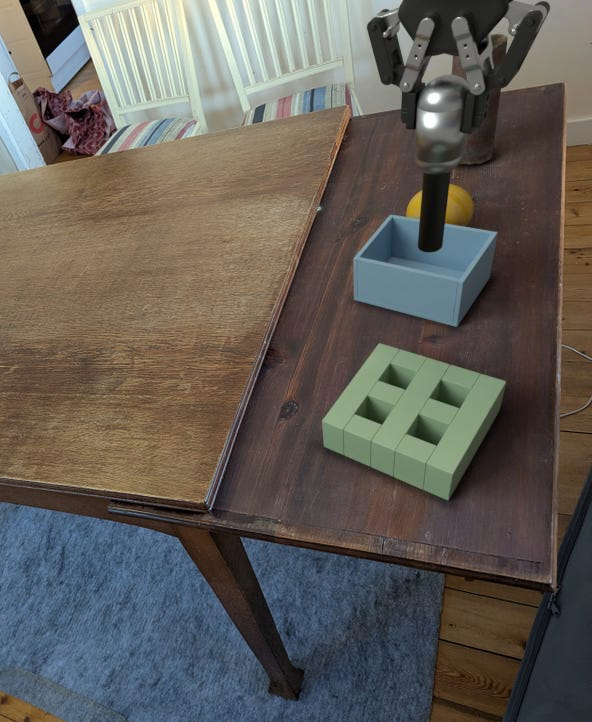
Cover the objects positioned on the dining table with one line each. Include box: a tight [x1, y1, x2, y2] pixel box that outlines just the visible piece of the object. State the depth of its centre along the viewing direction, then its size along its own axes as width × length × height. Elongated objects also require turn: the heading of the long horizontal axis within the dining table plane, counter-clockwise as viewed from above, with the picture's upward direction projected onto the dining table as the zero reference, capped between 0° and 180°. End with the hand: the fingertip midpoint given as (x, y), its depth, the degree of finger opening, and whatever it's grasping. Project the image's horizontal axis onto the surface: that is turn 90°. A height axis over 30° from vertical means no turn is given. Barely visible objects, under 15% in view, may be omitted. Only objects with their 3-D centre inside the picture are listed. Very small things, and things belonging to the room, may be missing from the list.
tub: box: [352, 214, 499, 328], centre depth 84 cm, size 14×11×8 cm
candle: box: [450, 33, 508, 165], centre depth 99 cm, size 8×7×20 cm
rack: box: [321, 342, 507, 501], centre depth 70 cm, size 14×14×5 cm
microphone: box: [413, 74, 470, 253], centre depth 60 cm, size 4×4×18 cm
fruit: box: [405, 183, 475, 227], centre depth 91 cm, size 9×8×8 cm
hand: (441, 126), depth 57 cm, fingers closed on microphone, 4 cm apart
